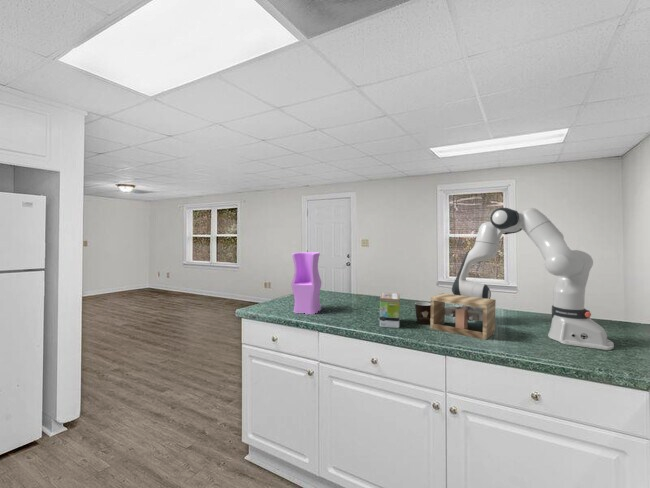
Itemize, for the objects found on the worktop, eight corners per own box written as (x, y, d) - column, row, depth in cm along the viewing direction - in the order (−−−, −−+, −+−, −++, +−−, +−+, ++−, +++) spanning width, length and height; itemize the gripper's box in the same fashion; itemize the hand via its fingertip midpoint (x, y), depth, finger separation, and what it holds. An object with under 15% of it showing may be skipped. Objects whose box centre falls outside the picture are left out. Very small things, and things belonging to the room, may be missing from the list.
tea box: (399, 328, 163) (400, 298, 162) (379, 327, 165) (379, 297, 164) (399, 320, 178) (399, 292, 177) (380, 319, 180) (380, 292, 179)
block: (467, 330, 159) (467, 307, 158) (464, 333, 155) (464, 309, 154) (459, 329, 161) (459, 306, 161) (455, 331, 158) (455, 308, 157)
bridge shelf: (495, 332, 156) (495, 299, 155) (486, 339, 145) (486, 304, 145) (441, 322, 173) (441, 293, 172) (430, 328, 162) (430, 297, 161)
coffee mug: (413, 323, 171) (413, 304, 170) (416, 319, 178) (416, 301, 178) (436, 326, 165) (436, 306, 165) (439, 322, 173) (439, 303, 172)
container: (291, 313, 193) (291, 253, 192) (300, 308, 207) (299, 252, 205) (314, 314, 189) (313, 254, 188) (321, 309, 203) (321, 252, 201)
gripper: (450, 302, 174) (439, 307, 164) (492, 308, 161) (483, 313, 150) (449, 314, 175) (439, 319, 164) (491, 321, 161) (483, 327, 151)
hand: (460, 316), depth 157 cm, fingers open, 8 cm apart
